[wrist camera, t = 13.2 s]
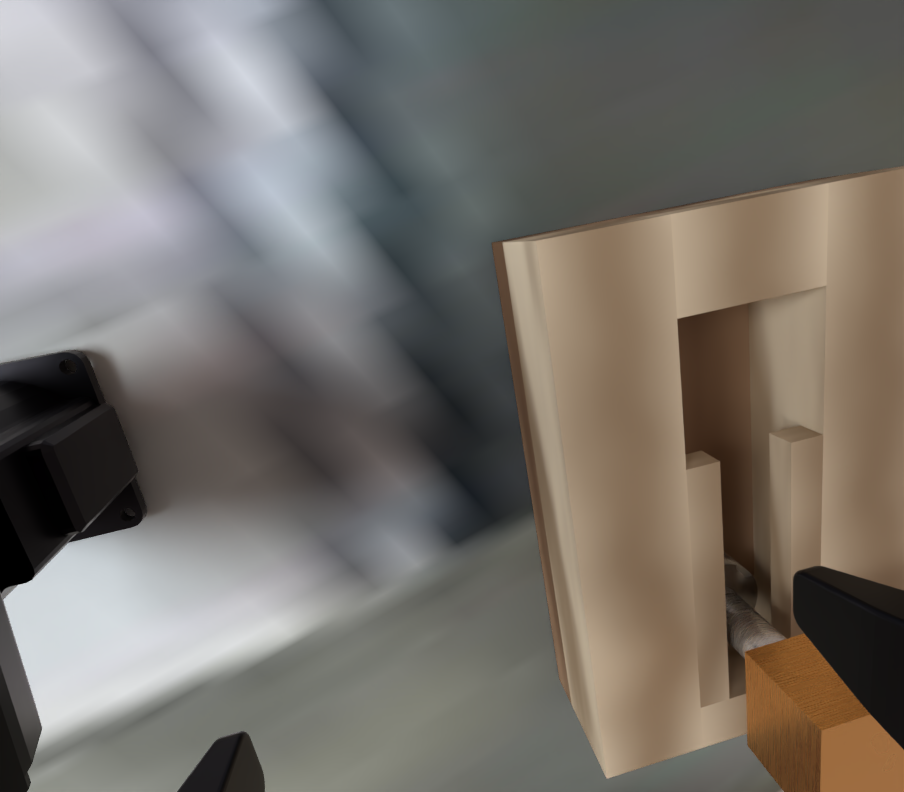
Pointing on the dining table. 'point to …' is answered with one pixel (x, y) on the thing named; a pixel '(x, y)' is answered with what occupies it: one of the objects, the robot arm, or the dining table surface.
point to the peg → (804, 707)
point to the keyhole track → (705, 436)
